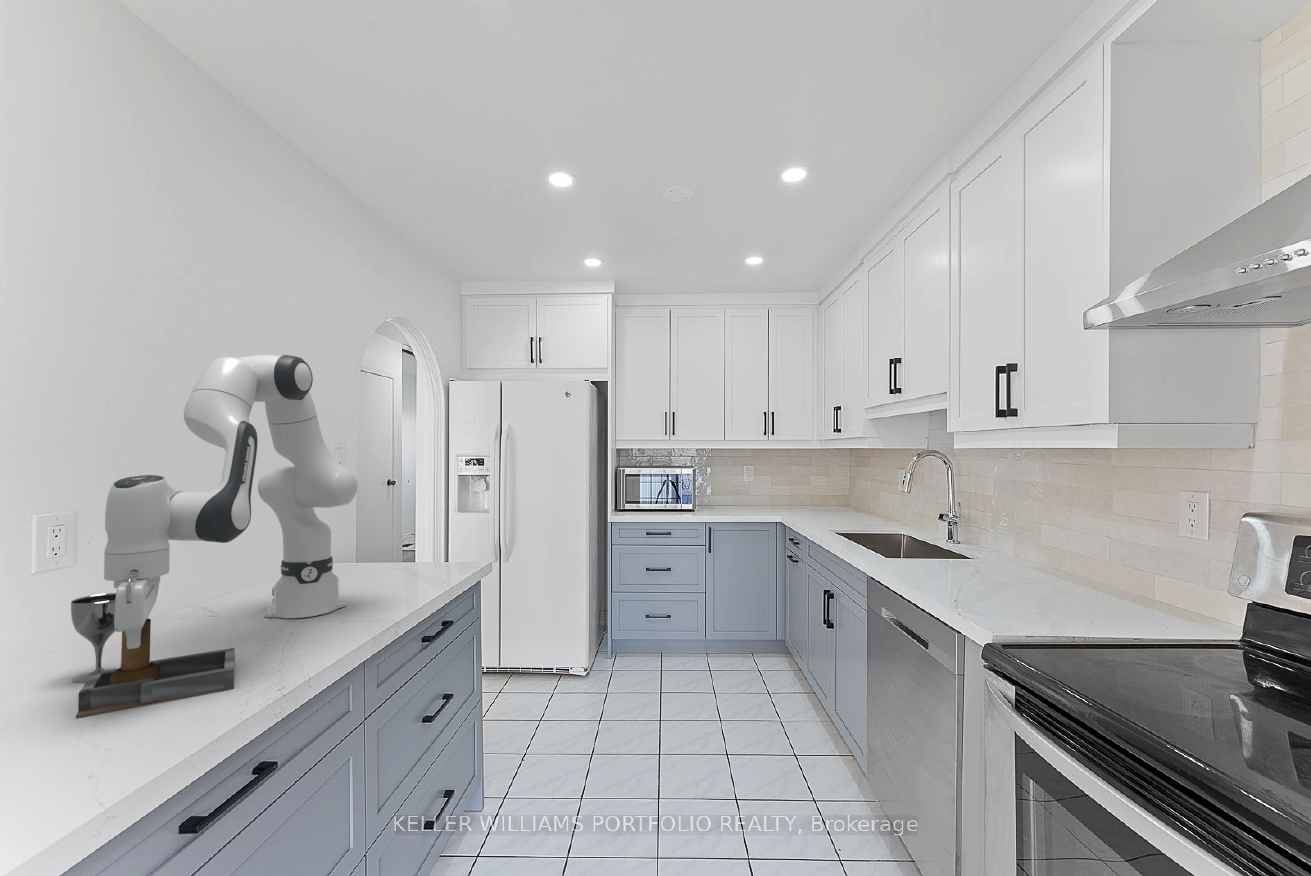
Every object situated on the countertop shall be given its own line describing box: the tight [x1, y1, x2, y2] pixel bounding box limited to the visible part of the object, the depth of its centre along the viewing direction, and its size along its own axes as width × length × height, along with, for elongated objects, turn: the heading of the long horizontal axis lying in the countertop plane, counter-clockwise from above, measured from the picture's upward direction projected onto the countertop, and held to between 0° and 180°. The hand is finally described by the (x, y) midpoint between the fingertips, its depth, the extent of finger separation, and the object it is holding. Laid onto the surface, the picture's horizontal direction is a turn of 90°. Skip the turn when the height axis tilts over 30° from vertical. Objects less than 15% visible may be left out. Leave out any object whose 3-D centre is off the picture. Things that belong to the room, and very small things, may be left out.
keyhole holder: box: [75, 647, 236, 719], centre depth 108 cm, size 14×21×4 cm, turn 125°
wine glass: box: [70, 592, 118, 684], centre depth 114 cm, size 8×8×15 cm
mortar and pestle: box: [110, 617, 159, 685], centre depth 105 cm, size 7×6×18 cm
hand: (136, 643), depth 105 cm, fingers closed on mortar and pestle, 4 cm apart
